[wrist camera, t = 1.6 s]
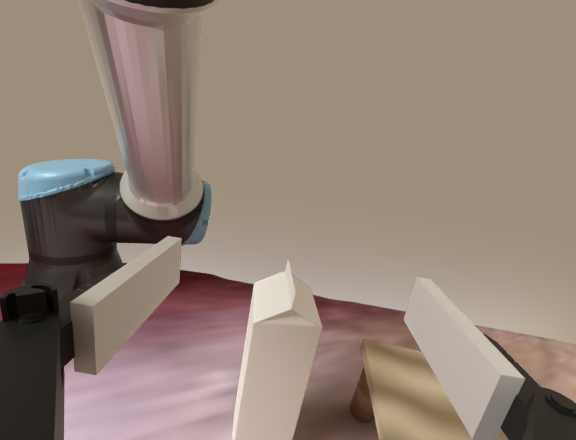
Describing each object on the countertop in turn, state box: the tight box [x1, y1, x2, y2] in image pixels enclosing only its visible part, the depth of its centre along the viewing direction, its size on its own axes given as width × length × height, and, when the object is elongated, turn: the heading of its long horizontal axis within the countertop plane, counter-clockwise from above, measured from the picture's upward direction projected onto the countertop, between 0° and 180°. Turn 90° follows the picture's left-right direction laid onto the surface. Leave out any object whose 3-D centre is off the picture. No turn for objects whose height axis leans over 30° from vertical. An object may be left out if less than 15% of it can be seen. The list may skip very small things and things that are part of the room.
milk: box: [232, 259, 322, 440], centre depth 28 cm, size 6×6×22 cm
